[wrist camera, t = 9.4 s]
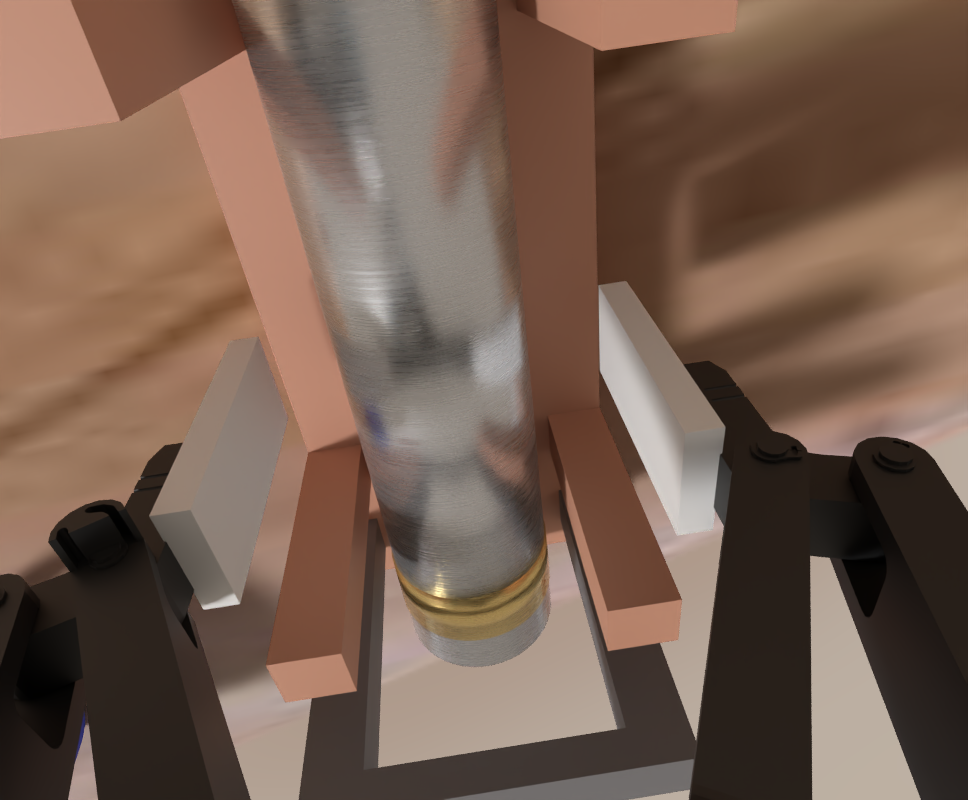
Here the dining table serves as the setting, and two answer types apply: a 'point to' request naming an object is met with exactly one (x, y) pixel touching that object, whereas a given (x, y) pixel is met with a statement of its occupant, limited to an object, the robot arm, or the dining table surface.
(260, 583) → the dining table surface
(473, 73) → the tube
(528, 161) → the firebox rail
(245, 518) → the robot arm
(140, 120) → the dining table surface
